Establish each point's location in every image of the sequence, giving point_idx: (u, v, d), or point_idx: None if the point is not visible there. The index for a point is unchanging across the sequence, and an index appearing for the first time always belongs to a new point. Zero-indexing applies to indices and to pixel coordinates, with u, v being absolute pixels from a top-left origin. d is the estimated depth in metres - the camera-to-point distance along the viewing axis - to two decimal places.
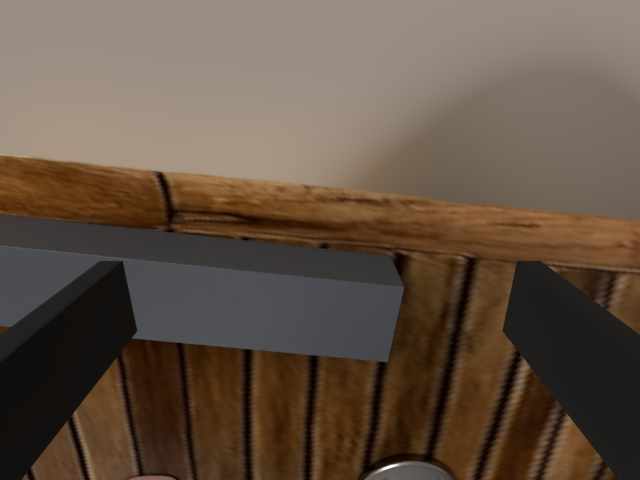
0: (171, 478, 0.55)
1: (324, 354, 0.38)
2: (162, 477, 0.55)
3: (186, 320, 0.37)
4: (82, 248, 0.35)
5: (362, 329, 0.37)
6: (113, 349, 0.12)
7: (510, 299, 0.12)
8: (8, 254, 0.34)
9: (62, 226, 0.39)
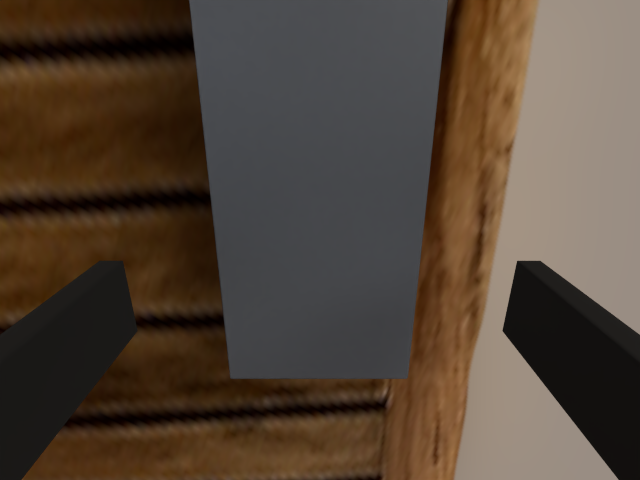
0: None
1: (222, 256, 0.16)
2: None
3: None
4: None
5: (304, 324, 0.17)
6: (113, 349, 0.12)
7: (510, 299, 0.12)
8: None
9: None
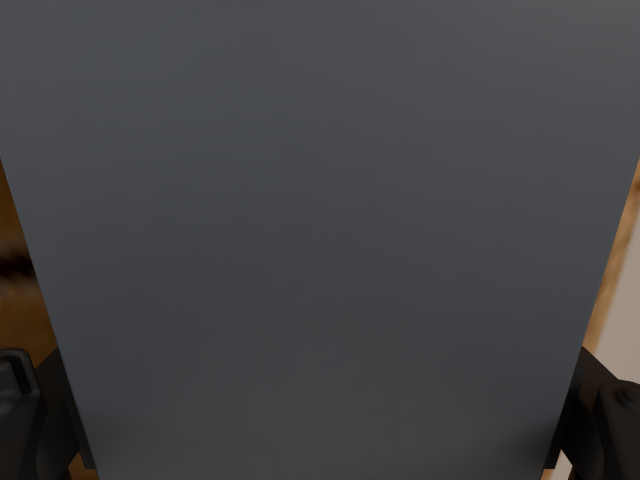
0: None
1: (103, 456, 0.07)
2: None
3: None
4: None
5: None
6: None
7: None
8: None
9: None
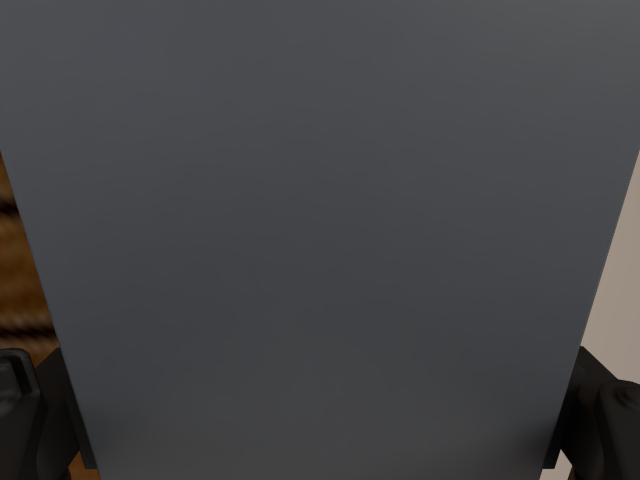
0: None
1: (104, 455, 0.07)
2: None
3: None
4: None
5: None
6: None
7: None
8: None
9: None
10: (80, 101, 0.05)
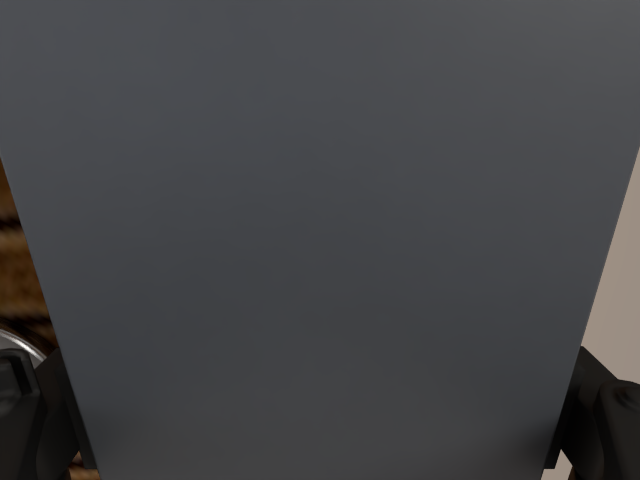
0: None
1: (104, 456, 0.07)
2: None
3: None
4: None
5: None
6: None
7: None
8: None
9: None
10: (78, 102, 0.05)
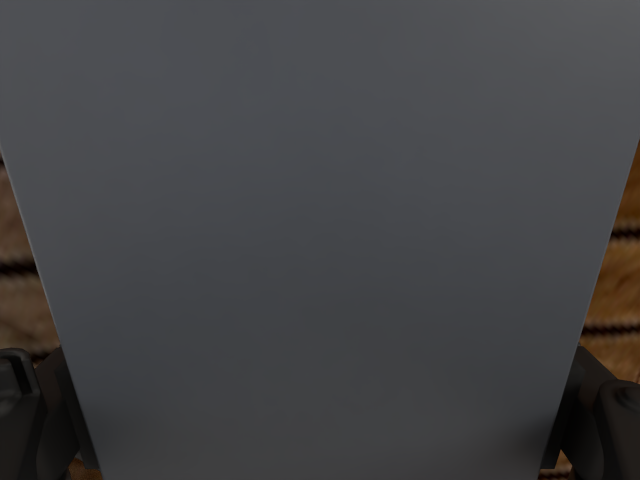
0: None
1: (105, 450, 0.07)
2: None
3: None
4: None
5: None
6: None
7: None
8: None
9: None
10: (78, 94, 0.05)
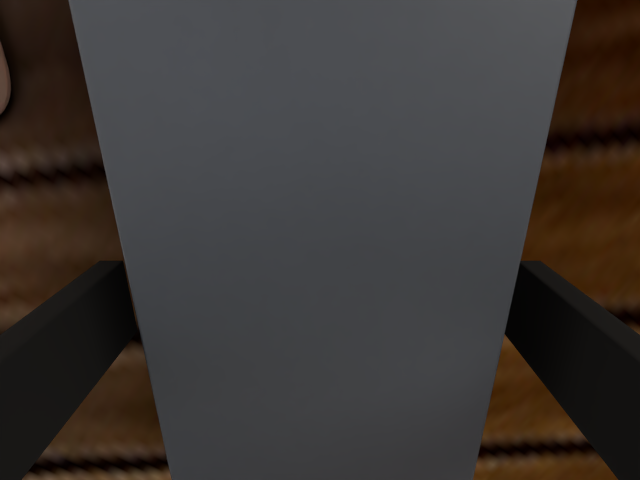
0: (6, 92, 0.14)
1: (156, 366, 0.09)
2: None
3: None
4: None
5: (297, 464, 0.11)
6: (113, 349, 0.12)
7: None
8: None
9: None
10: (155, 93, 0.07)
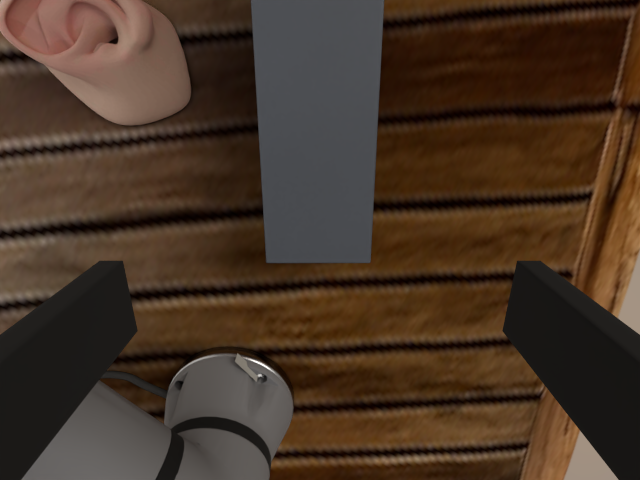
0: (189, 97, 0.34)
1: (265, 186, 0.29)
2: (188, 82, 0.33)
3: None
4: None
5: (310, 227, 0.30)
6: (113, 349, 0.12)
7: (510, 299, 0.12)
8: None
9: None
10: (274, 98, 0.27)
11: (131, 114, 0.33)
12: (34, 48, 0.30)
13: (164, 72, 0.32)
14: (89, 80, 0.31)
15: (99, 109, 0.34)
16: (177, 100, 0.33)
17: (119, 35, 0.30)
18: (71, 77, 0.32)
